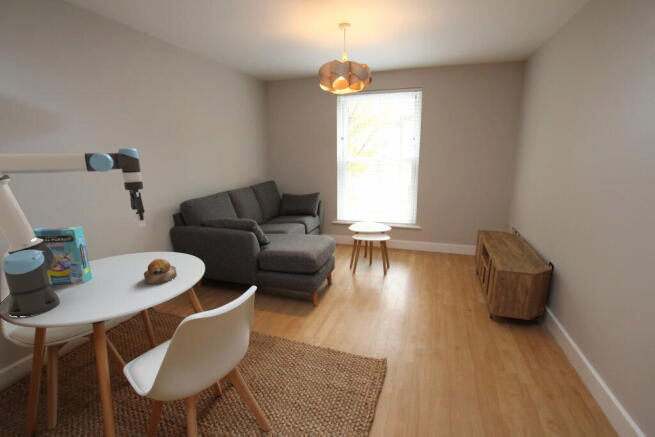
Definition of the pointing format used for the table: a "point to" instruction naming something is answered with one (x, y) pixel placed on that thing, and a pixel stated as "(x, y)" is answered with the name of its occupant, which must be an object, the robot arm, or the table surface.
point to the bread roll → (158, 266)
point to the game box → (66, 254)
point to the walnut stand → (160, 276)
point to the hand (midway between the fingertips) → (139, 224)
